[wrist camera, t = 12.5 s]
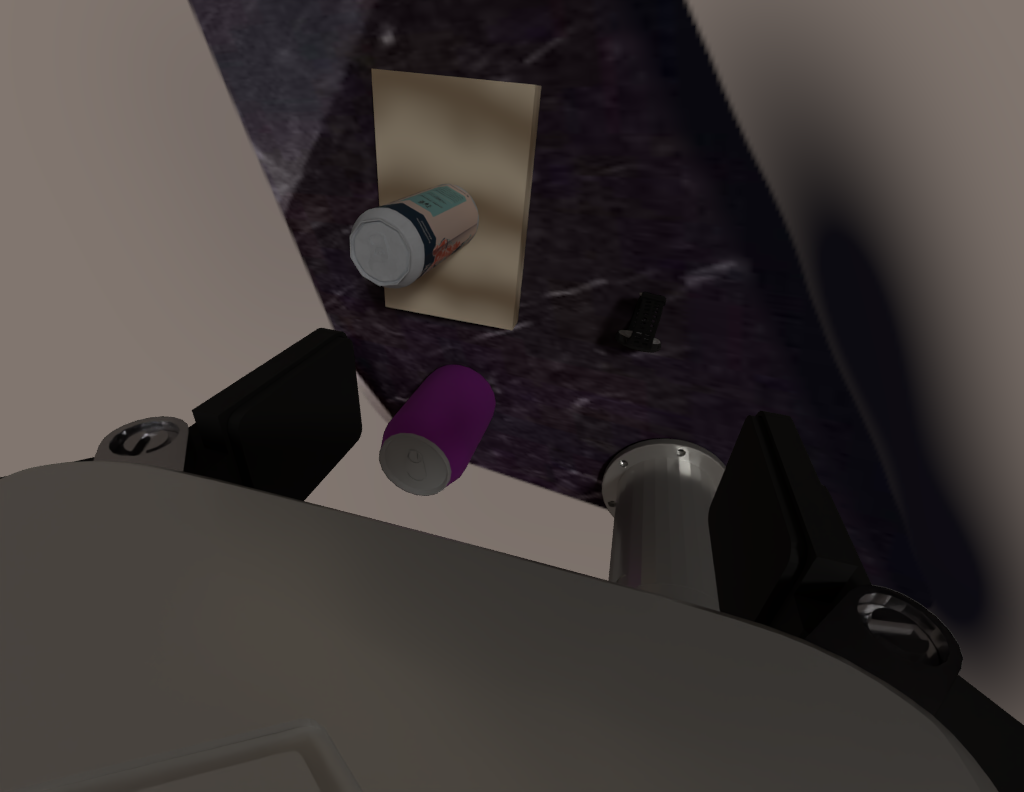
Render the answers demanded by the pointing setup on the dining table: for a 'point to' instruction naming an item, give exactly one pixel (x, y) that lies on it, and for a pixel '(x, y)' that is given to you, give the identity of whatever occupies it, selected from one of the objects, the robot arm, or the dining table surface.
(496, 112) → the birch board
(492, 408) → the beverage can
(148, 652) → the robot arm
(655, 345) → the smartwatch
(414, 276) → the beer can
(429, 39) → the dining table surface
